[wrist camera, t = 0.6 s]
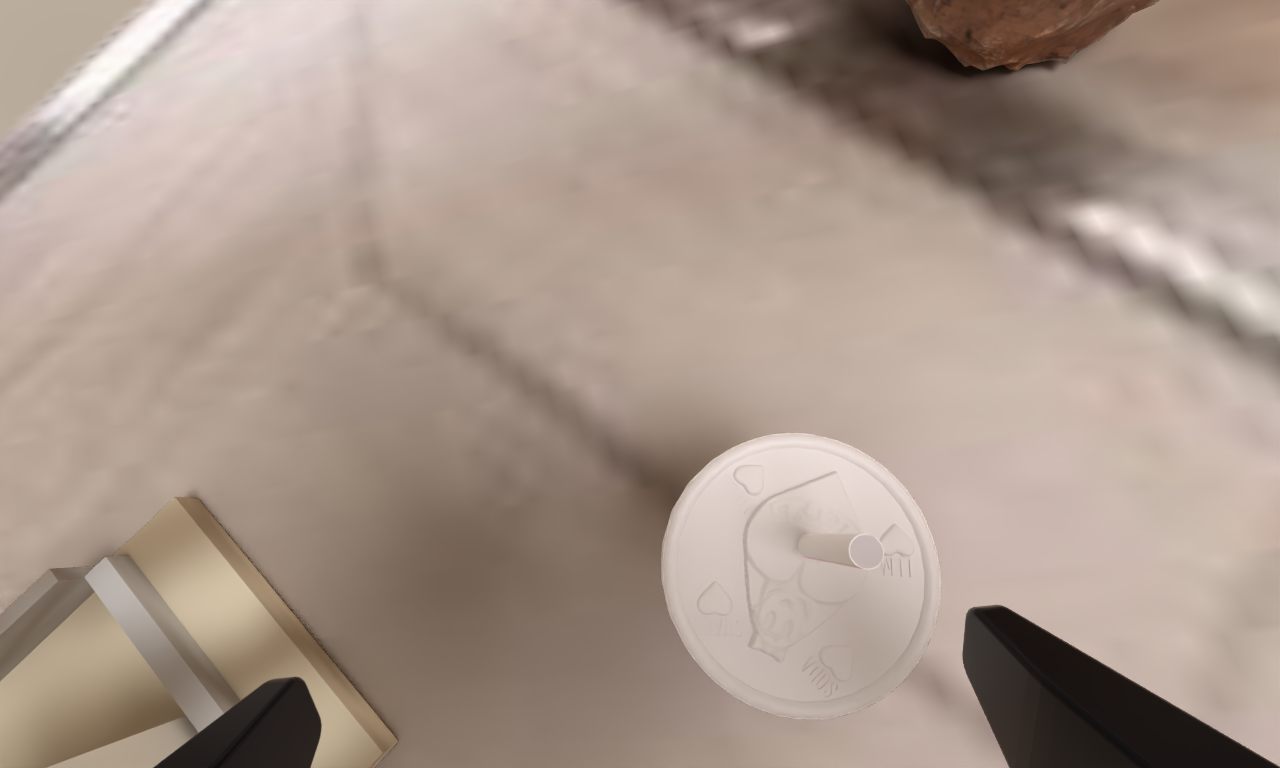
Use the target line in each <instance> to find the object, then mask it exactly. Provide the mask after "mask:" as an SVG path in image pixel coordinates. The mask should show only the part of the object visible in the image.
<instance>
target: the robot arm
mask: <svg viewBox="0 0 1280 768" xmlns="http://www.w3.org/2000/svg"><path fill="white" fill-rule="evenodd" d="M963 663H964V668H965V671H966V674H967V676H968V678H969V681H970V683H971V685H972V687H973V689H974V691H975V694H976V696H977V698H978V700H979V702H980V705H981V707H982V709H983V711H984V713H985V715H986V718H987V720H988V722H989V724H990V726H991V729H992V731H993V733H994V735H995V737H996V739H997V742H998V744H999V746H1000V748H1001V750H1002V753H1003V755H1004V757H1005V759H1006V761H1007V763H1008V766H1009V768H1280V767H1279V766H1277V765H1276V764H1274V763H1272V762H1271V761H1269V760H1267V759H1265V758H1264V757H1262V756H1260V755H1259V754H1257V753H1255V752H1253V751H1252V750H1250V749H1248V748H1247V747H1245V746H1243V745H1241V744H1240V743H1238V742H1236V741H1235V740H1233V739H1231V738H1229V737H1228V736H1226V735H1224V734H1223V733H1221V732H1219V731H1217V730H1216V729H1214V728H1212V727H1211V726H1209V725H1207V724H1205V723H1204V722H1202V721H1200V720H1199V719H1197V718H1195V717H1193V716H1192V715H1190V714H1188V713H1187V712H1185V711H1183V710H1181V709H1180V708H1178V707H1176V706H1175V705H1173V704H1171V703H1169V702H1168V701H1166V700H1164V699H1163V698H1161V697H1159V696H1158V695H1156V694H1154V693H1152V692H1151V691H1149V690H1147V689H1146V688H1144V687H1142V686H1140V685H1139V684H1137V683H1135V682H1134V681H1132V680H1130V679H1128V678H1127V677H1125V676H1123V675H1122V674H1120V673H1118V672H1116V671H1115V670H1113V669H1111V668H1110V667H1108V666H1106V665H1104V664H1103V663H1101V662H1099V661H1098V660H1096V659H1094V658H1092V657H1091V656H1089V655H1087V654H1086V653H1084V652H1082V651H1080V650H1079V649H1077V648H1075V647H1074V646H1072V645H1070V644H1068V643H1067V642H1065V641H1063V640H1062V639H1060V638H1058V637H1056V636H1055V635H1053V634H1051V633H1050V632H1048V631H1046V630H1044V629H1043V628H1041V627H1039V626H1038V625H1036V624H1034V623H1032V622H1031V621H1029V620H1027V619H1026V618H1024V617H1022V616H1020V615H1019V614H1017V613H1015V612H1014V611H1012V610H1010V609H1008V608H1006V607H1004V606H1001V605H991V606H981V607H973V608H971V609H969V610H968V612H967V614H966V620H965V632H964V643H963ZM321 728H322V724H321V718H320V715H319V713H318V711H317V708H316V706H315V703H314V701H313V699H312V696H311V694H310V692H309V689H308V687H307V685H306V683H305V681H304V680H303V679H301V678H300V677H286V678H276V679H271V680H268V681H266V682H265V683H263V684H262V685H261V686H259V687H258V688H257V689H255V690H254V691H253V692H251V693H250V694H249V695H247V696H246V697H245V698H243V699H242V700H241V701H240V702H238V703H237V704H236V705H234V706H233V707H232V708H230V709H229V710H228V711H226V712H225V713H224V714H223V715H221V716H220V717H219V718H217V719H216V720H215V721H213V722H212V723H211V724H209V725H208V726H207V727H205V728H204V729H203V730H202V731H200V732H199V733H198V734H196V735H195V736H194V737H192V738H191V739H190V740H188V741H187V742H186V743H185V744H183V745H182V746H181V747H179V748H178V749H177V750H175V751H174V752H173V753H171V754H170V755H169V756H167V757H166V758H165V759H164V760H162V761H161V762H160V763H158V764H157V765H156V766H154V767H153V768H311V765H312V762H313V759H314V756H315V753H316V750H317V747H318V744H319V740H320V736H321Z"/></svg>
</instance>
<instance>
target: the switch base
mask: <svg viewBox="0 0 1280 768" xmlns="http://www.w3.org/2000/svg"><path fill="white" fill-rule="evenodd" d="M286 677H300V678H301V679H303V680H304V681H305V683H306V685H307V687H308V689H309V692H310V694H311V696H312V699H313V701H314V703H315V706H316V708H317V711H318V713H319V715H320V718H321V724H322V728H321V736H320V740H319V744H318V747H317V750H316V753H315V756H314V759H313V762H312V765H311V768H374V767H375V766H376V765H377V764H378V763H379V762H380V761H381V760H382V759H383V758H384V756H385V755H386V754H387V753H388V752H389V751H390V750H391V749H392V748H393V747H394V746H395V745H396V743H397V742H398V740H397V739H396V738H395V736H394V735H393V734H392V733H391V731H390V730H389V729H388V728H387V727H386V725H385V724H384V723H383V722H382V721H381V719H380V718H379V717H378V716H377V714H376V713H375V712H374V711H373V710H372V708H371V707H370V706H369V705H368V704H367V702H366V701H365V700H364V699H363V698H362V696H361V695H360V694H359V693H358V691H357V690H356V689H355V688H354V687H353V685H352V684H351V683H350V682H349V681H348V679H347V678H346V677H345V676H344V674H343V673H342V672H341V671H340V670H339V668H338V667H337V666H336V665H335V664H334V662H333V661H332V660H331V659H330V658H329V656H328V655H327V654H326V653H325V651H324V650H323V649H322V648H321V647H320V645H319V644H318V643H317V642H316V641H315V639H314V638H313V637H312V636H311V635H310V633H309V632H308V631H307V630H306V628H305V627H304V626H303V625H302V624H301V622H300V621H299V620H298V619H297V618H296V616H295V615H294V614H293V613H292V611H291V610H290V609H289V608H288V607H287V605H286V604H285V603H284V602H283V601H282V599H281V598H280V597H279V596H278V595H277V593H276V592H275V591H274V590H273V588H272V587H271V586H270V585H269V584H268V582H267V581H266V580H265V579H264V578H263V576H262V575H261V574H260V573H259V571H258V570H257V569H256V568H255V567H254V565H253V564H252V563H251V562H250V561H249V559H248V558H247V557H246V556H245V555H244V553H243V552H242V551H241V550H240V548H239V547H238V546H237V545H236V544H235V542H234V541H233V540H232V539H231V538H230V536H229V535H228V534H227V533H226V531H225V530H224V529H223V528H222V527H221V525H220V524H219V523H218V522H217V521H216V519H215V518H214V517H213V516H212V515H211V513H210V512H209V511H208V510H207V508H206V507H205V506H204V505H203V504H202V502H201V501H200V500H199V499H195V498H181V497H174V498H173V499H172V500H171V501H170V502H169V503H168V504H167V505H166V506H165V507H164V508H163V509H162V510H161V511H160V512H159V513H157V514H156V515H155V516H154V517H153V518H152V519H151V520H150V521H149V522H148V523H147V524H146V525H145V526H144V527H143V528H142V529H141V530H139V531H138V532H137V533H136V534H135V535H134V536H133V537H132V538H131V539H130V540H129V541H128V542H127V543H126V544H125V545H124V546H123V547H122V548H120V549H119V550H118V551H117V552H116V553H115V554H114V555H113V556H107V557H105V558H104V559H103V560H101V561H100V562H99V563H98V564H97V565H96V566H90V567H73V568H56V569H49V570H48V571H47V572H46V573H44V574H43V575H42V576H41V577H40V578H39V579H38V580H37V581H36V582H35V583H34V584H33V585H32V586H31V587H29V588H28V589H27V590H26V591H25V592H24V593H23V594H22V595H21V596H20V597H19V598H18V599H17V600H15V601H14V602H13V603H12V604H11V605H10V606H9V607H8V608H7V609H6V610H5V611H4V612H3V613H2V614H0V768H47V767H49V766H52V765H55V764H57V763H60V762H63V761H66V760H68V759H71V758H74V757H76V756H79V755H82V754H84V753H87V752H90V751H92V750H95V749H98V748H100V747H103V746H106V745H109V744H111V743H114V742H117V741H119V740H122V739H125V738H127V737H130V736H133V735H135V734H138V733H141V732H144V731H146V730H149V729H152V728H154V727H157V726H160V725H162V724H165V723H168V722H170V721H173V720H176V719H178V718H181V717H184V716H187V717H188V719H189V720H190V721H191V723H192V724H193V726H194V727H195V728H196V730H197V731H198V732H200V731H202V730H203V729H204V728H205V727H207V726H208V725H209V724H211V723H212V722H213V721H215V720H216V719H217V718H219V717H220V716H221V715H223V714H224V713H225V712H226V711H228V710H229V709H230V708H232V707H233V706H234V705H236V704H237V703H238V702H240V701H241V700H242V699H243V698H245V697H246V696H247V695H249V694H250V693H251V692H253V691H254V690H255V689H257V688H258V687H259V686H261V685H262V684H263V683H265V682H266V681H268V680H271V679H276V678H286Z"/></svg>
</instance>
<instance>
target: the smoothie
mask: <svg viewBox="0 0 1280 768" xmlns="http://www.w3.org/2000/svg"><path fill="white" fill-rule="evenodd" d="M661 581H662V586H663V590H664V595H665V599H666V604H667V608H668V613H669V616H670V618H671V620H672V622H673V624H674V626H675V628H676V630H677V632H678V634H679V636H680V638H681V640H682V642H683V644H684V645H685V647H686V649H687V650H688V651H689V653H690V654H691V656H692V657H693V659H694V660H695V661H696V662H697V664H698V665H699V666H700V667H701V669H702V670H703V671H704V672H705V673H706V674H707V675H708V676H709V677H710V678H711V679H712V680H713V681H714V682H716V683H717V684H718V685H719V686H720V687H721V688H723V689H724V690H725V691H727V692H728V693H730V694H731V695H732V696H734V697H736V698H737V699H739V700H741V701H743V702H744V703H746V704H748V705H750V706H752V707H755V708H757V709H759V710H762V711H765V712H768V713H771V714H774V715H778V716H782V717H787V718H794V719H802V720H819V719H829V718H835V717H840V716H845V715H848V714H851V713H854V712H857V711H860V710H862V709H864V708H866V707H869V706H871V705H873V704H874V703H876V702H878V701H879V700H881V699H883V698H884V697H886V696H887V695H888V694H889V693H891V692H892V691H893V690H895V689H896V688H897V687H898V686H899V685H900V684H901V683H902V682H903V681H904V680H905V679H906V678H907V677H908V676H909V674H910V673H911V672H912V671H913V670H914V668H915V667H916V665H917V664H918V662H919V661H920V659H921V658H922V656H923V654H924V652H925V650H926V649H927V647H928V645H929V642H930V640H931V637H932V635H933V632H934V629H935V625H936V622H937V618H938V612H939V607H940V597H941V574H940V566H939V559H938V555H937V550H936V546H935V543H934V540H933V537H932V534H931V531H930V529H929V526H928V524H927V522H926V519H925V518H924V516H923V514H922V512H921V510H920V508H919V507H918V505H917V504H916V502H915V501H914V499H913V498H912V496H911V495H910V493H909V492H908V491H907V490H906V488H905V487H904V486H903V485H902V484H901V483H900V482H899V480H898V479H897V478H896V477H895V476H894V475H893V474H892V473H891V472H889V471H888V470H887V469H886V468H885V467H884V466H882V465H881V464H880V463H878V462H877V461H876V460H874V459H873V458H872V457H870V456H868V455H867V454H865V453H863V452H862V451H860V450H858V449H856V448H854V447H852V446H850V445H848V444H845V443H842V442H840V441H837V440H834V439H830V438H827V437H823V436H818V435H812V434H802V433H781V434H773V435H767V436H763V437H758V438H755V439H752V440H749V441H746V442H743V443H741V444H739V445H737V446H734V447H733V448H731V449H729V450H727V451H725V452H724V453H722V454H721V455H719V456H718V457H716V458H714V459H712V460H711V461H710V462H709V463H708V464H707V465H706V466H705V467H704V468H703V469H702V470H701V471H700V472H699V473H698V474H697V475H696V476H694V477H693V478H692V479H691V480H690V481H689V482H688V484H687V486H686V487H685V489H684V491H683V492H682V494H681V496H680V497H679V499H678V501H677V502H676V504H675V506H674V507H673V509H672V511H671V514H670V518H669V521H668V524H667V528H666V531H665V535H664V538H663V542H662V559H661Z"/></svg>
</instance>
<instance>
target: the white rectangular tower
mask: <svg viewBox="0 0 1280 768" xmlns="http://www.w3.org/2000/svg"><path fill="white" fill-rule="evenodd" d="M198 733H199V732H198V731H197V730H196V728H195V727H194V726H193V724H192V723H191V721H190V720H189V719H188V717H187V716H184V717H181V718H178V719H176V720H173V721H170V722H168V723H165V724H162V725H160V726H157V727H154V728H152V729H149V730H146V731H144V732H141V733H138V734H135V735H133V736H130V737H127V738H125V739H122V740H119V741H117V742H114V743H111V744H109V745H106V746H103V747H100V748H98V749H95V750H92V751H90V752H87V753H84V754H82V755H79V756H76V757H74V758H71V759H68V760H66V761H63V762H60V763H57V764H55V765H52V766H49V767H47V768H153V767H154V766H156V765H157V764H158V763H160V762H161V761H162V760H164V759H165V758H166V757H167V756H169V755H170V754H171V753H173V752H174V751H175V750H177V749H178V748H179V747H181V746H182V745H183V744H185V743H186V742H187V741H188V740H190V739H191V738H192V737H194V736H195V735H196V734H198Z"/></svg>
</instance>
